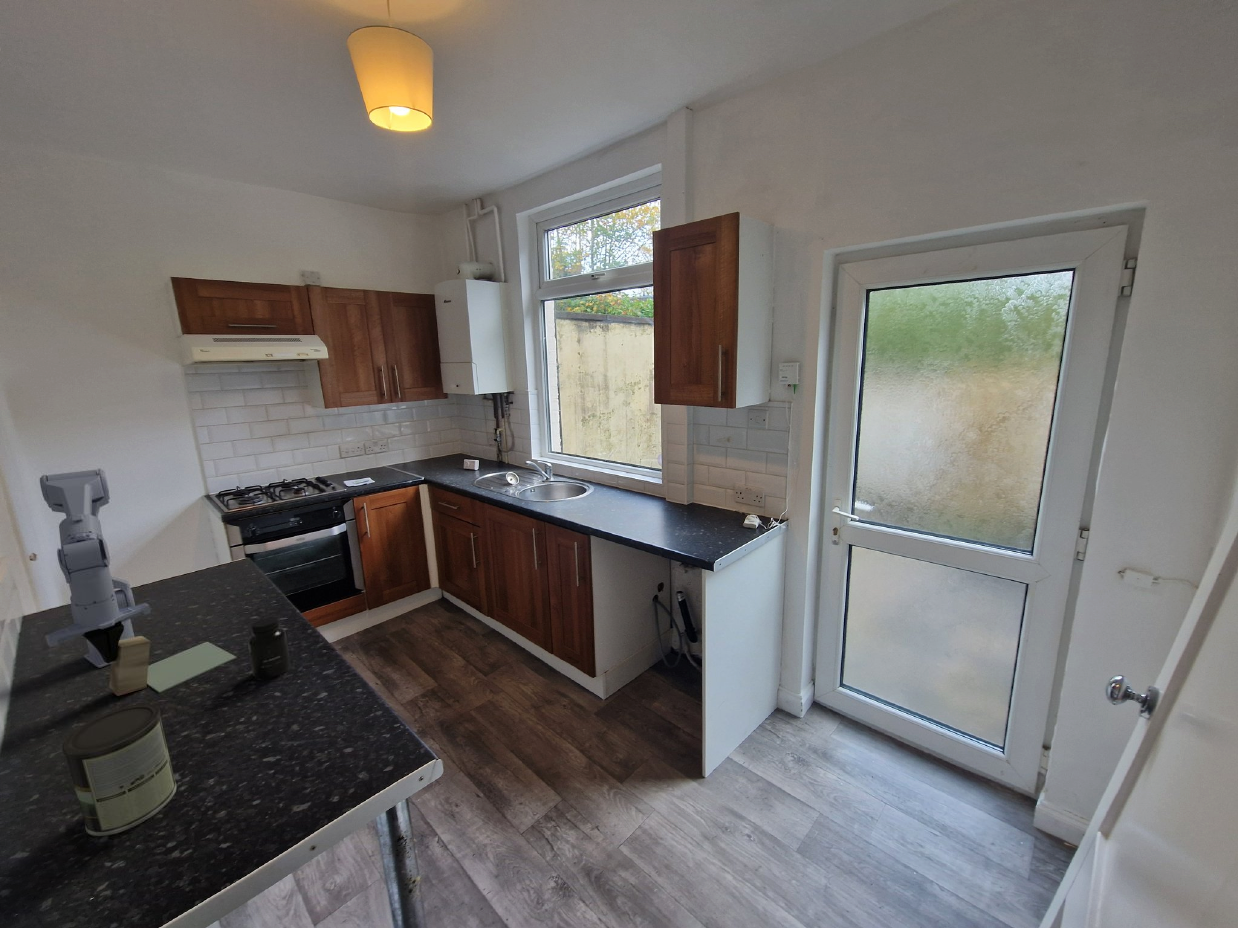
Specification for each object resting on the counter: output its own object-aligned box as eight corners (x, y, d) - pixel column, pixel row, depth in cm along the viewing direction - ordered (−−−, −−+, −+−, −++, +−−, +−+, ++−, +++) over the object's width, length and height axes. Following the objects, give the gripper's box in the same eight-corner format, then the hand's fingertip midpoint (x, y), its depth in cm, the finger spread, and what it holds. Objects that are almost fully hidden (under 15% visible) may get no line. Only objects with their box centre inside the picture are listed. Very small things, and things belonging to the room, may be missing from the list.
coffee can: (63, 840, 71) (38, 755, 68) (126, 781, 81) (107, 705, 78) (140, 833, 72) (119, 750, 69) (193, 775, 82) (177, 700, 79)
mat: (132, 673, 110) (131, 672, 110) (207, 642, 122) (207, 641, 122) (159, 692, 103) (159, 691, 103) (236, 657, 115) (236, 656, 115)
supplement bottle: (272, 682, 106) (263, 631, 104) (245, 678, 107) (236, 628, 105) (298, 663, 113) (290, 615, 110) (273, 660, 114) (264, 612, 112)
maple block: (109, 689, 103) (112, 641, 103) (137, 681, 107) (141, 635, 107) (117, 695, 101) (121, 647, 101) (146, 687, 105) (150, 640, 105)
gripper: (47, 620, 90) (65, 686, 93) (150, 588, 103) (163, 647, 105) (35, 611, 94) (53, 675, 96) (136, 581, 106) (149, 639, 109)
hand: (110, 660), depth 101 cm, fingers closed
